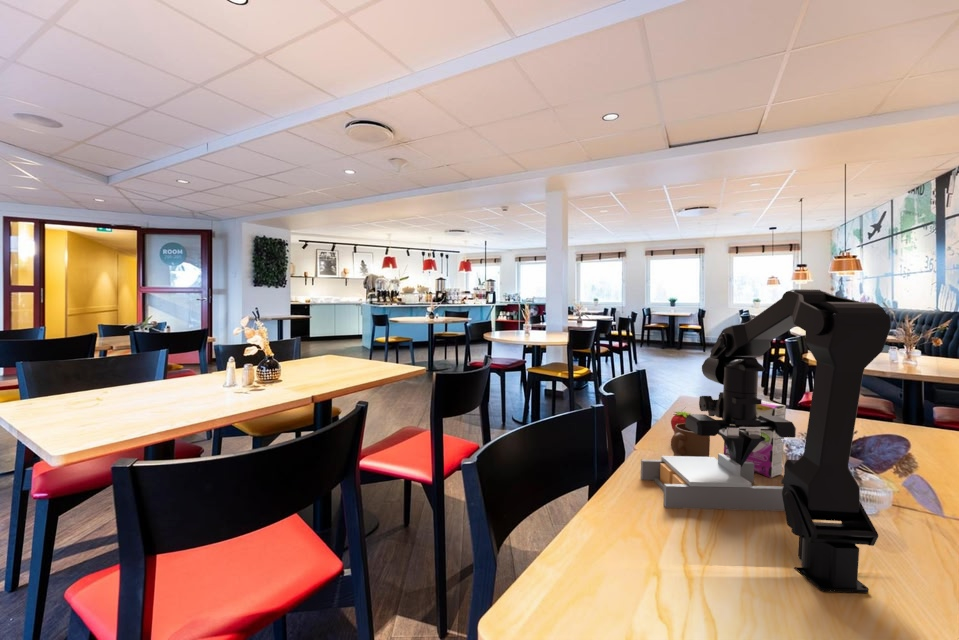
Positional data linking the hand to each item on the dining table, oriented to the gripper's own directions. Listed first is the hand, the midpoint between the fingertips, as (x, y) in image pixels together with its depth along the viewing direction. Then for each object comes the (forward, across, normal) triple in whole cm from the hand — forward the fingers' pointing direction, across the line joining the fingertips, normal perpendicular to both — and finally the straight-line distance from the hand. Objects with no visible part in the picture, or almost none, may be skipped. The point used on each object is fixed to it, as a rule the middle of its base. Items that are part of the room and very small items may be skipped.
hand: (737, 467), depth 82 cm
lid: (+1, +7, 0) cm, 7 cm away
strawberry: (+6, -5, -34) cm, 34 cm away
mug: (+6, +3, -14) cm, 16 cm away
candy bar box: (+6, -13, -16) cm, 21 cm away
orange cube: (+5, +11, -3) cm, 13 cm away
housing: (+6, +5, 0) cm, 8 cm away
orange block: (+5, +11, +3) cm, 13 cm away
